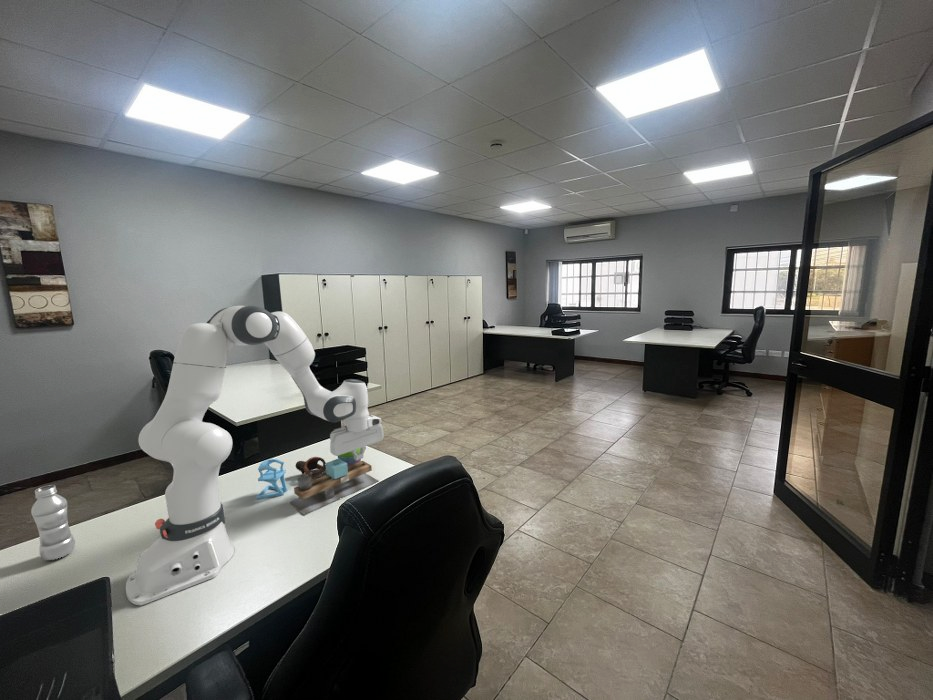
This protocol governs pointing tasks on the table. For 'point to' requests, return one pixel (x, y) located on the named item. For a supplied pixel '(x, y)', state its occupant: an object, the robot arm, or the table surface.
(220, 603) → the table surface
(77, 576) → the table surface
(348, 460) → the stacking bear
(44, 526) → the plastic bottle
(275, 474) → the chair
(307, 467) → the pottery mug
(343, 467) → the block
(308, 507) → the brown wooden bench
